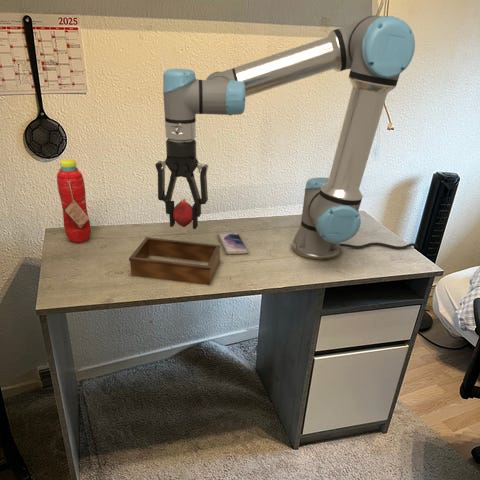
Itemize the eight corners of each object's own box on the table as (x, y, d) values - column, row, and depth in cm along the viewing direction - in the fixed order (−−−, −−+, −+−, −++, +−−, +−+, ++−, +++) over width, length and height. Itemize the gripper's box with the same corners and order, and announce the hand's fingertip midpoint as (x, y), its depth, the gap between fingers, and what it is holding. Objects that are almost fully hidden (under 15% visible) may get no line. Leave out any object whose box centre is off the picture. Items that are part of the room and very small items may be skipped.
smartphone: (237, 232, 160) (248, 251, 148) (237, 234, 160) (248, 253, 148) (217, 233, 158) (226, 252, 146) (217, 235, 159) (226, 254, 147)
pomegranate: (190, 232, 128) (190, 203, 124) (170, 229, 129) (169, 201, 124) (196, 224, 133) (196, 196, 128) (177, 222, 134) (176, 194, 129)
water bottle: (92, 248, 146) (81, 167, 132) (65, 250, 144) (51, 167, 130) (92, 233, 156) (82, 155, 142) (67, 234, 154) (54, 156, 140)
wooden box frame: (220, 261, 143) (220, 245, 140) (210, 285, 131) (210, 267, 127) (147, 253, 145) (145, 236, 142) (130, 275, 133) (128, 258, 130)
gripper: (139, 139, 116) (146, 228, 129) (214, 145, 114) (214, 234, 127) (149, 133, 122) (155, 218, 135) (220, 138, 120) (219, 224, 133)
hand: (183, 226), depth 131 cm, fingers closed on pomegranate, 6 cm apart
